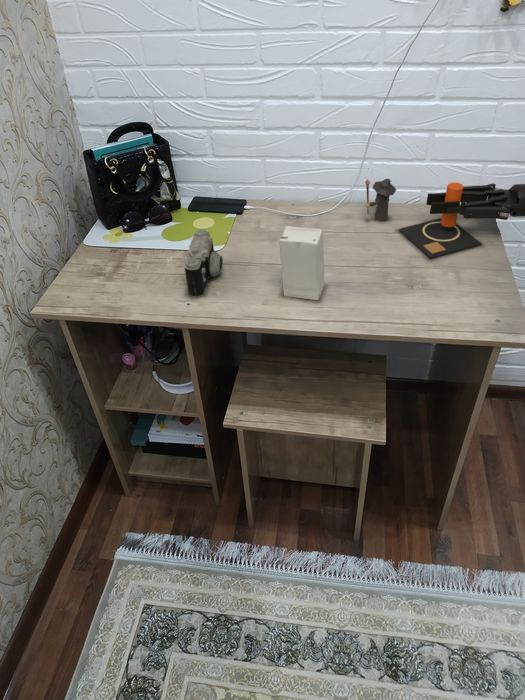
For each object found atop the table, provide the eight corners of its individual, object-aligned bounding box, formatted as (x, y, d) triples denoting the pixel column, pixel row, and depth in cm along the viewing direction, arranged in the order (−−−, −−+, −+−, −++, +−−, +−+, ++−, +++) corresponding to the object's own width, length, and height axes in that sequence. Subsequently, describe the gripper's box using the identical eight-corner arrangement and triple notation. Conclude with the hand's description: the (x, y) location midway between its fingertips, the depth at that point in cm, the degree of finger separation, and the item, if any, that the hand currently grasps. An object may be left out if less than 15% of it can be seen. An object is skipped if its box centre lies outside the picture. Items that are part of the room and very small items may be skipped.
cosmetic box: (324, 286, 128) (326, 228, 118) (318, 302, 124) (319, 243, 114) (288, 281, 130) (287, 223, 120) (281, 296, 126) (278, 238, 116)
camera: (216, 297, 127) (211, 260, 120) (186, 297, 128) (180, 259, 121) (227, 260, 137) (222, 223, 131) (199, 259, 138) (194, 223, 131)
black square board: (480, 245, 137) (481, 242, 136) (430, 259, 133) (430, 256, 133) (446, 218, 146) (447, 215, 146) (399, 230, 143) (399, 228, 143)
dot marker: (455, 231, 139) (463, 189, 132) (440, 230, 140) (447, 189, 132) (454, 223, 142) (463, 182, 134) (439, 222, 142) (447, 181, 135)
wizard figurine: (379, 210, 151) (383, 167, 143) (396, 217, 148) (401, 173, 140) (359, 222, 147) (362, 178, 139) (376, 229, 144) (381, 185, 136)
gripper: (536, 232, 132) (433, 235, 133) (514, 197, 144) (420, 200, 145) (545, 203, 127) (438, 207, 128) (522, 169, 139) (424, 173, 140)
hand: (429, 203), depth 137 cm, fingers closed on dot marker, 4 cm apart
